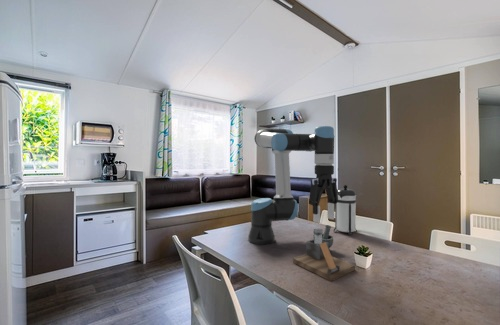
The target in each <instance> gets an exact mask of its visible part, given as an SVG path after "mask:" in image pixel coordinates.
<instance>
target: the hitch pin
mask: <svg viewBox="0 0 500 325" xmlns="http://www.w3.org/2000/svg"><path fill="white" fill-rule="evenodd" d="M313 234H314V238H313V240H314V244H317V245H319V244H321V243H322V234H324V230H323V229H322V228H313Z"/></svg>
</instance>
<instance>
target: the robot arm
mask: <svg viewBox="0 0 500 325" xmlns="http://www.w3.org/2000/svg"><path fill="white" fill-rule="evenodd" d="M254 143H255V144H256V146H258V147H260V148H263V149H271V153H272V154H274V168H275V170H274V172H275V173H274V175H275V177H274V178H275V195H274V196H273V200H272V198H270V197H262V198H257V199H254V200H253V201H252V202H251V206H250V210H251V211H250V212H251V216H250V218H251V220H250V221H251V226H250V229H249V234H248V236H247V241H248V242H249V241H250V243H252V244H255V245H269V244H273V243H275V241H276V240H275V239H276V238H275V236H276V235H275V232H274V230H273V227H272V224H273V222H281V221H286V222H287V221H291V220H294V219H295V218H296V217H297V216H298V212H299V205H298V201H297V200H296V199H294V196H293V195H292V191H291V189H292V188H291V170H290V168H291V167H290V153H291V152H292V151H293V152H295V151H296V152H314V161H313V162H314V164H315V165H314V175H316V177H315V178H313V179H310V190H309V191H310V192H309V197H308V204H309V205H310V206H312V214H313V215H312V216H313V219H312V220H313V222H314V223H316V224H317V223H318V224H321V206H320V201H321V199H322V195H323V191H324V190H325V193H326V197H327V199H328V202H327V219H329V220H334V221H335V204H337V201H338V194H337V190H338V186H337V185H338V184H337V181H338V178H337V177H333V176H332V175H334V174H335V166H334V164H335V157H334V156H335V155H334V154H335V130H334V127H333V126H329V125H325V126H322V125H321V126H316V127H315V129H314V132H313V133H294V132H293V131H292V130H290V129H289V128H288V129H287V128H286V129H285V128H262V129H260V130H258V131H257V132H256V133H255V135H254Z"/></svg>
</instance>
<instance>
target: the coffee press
mask: <svg viewBox="0 0 500 325" xmlns="http://www.w3.org/2000/svg"><path fill="white" fill-rule="evenodd" d="M337 194H338V201H337V204H335V210H334V226H335V227H334V228H333V232H334V233H337V232H343V233H348V234H347V235H348V236H353V232H355V233H357V232H358V231H357V228H356V227H357V226H356V225H357V224H356V214H357V213H356V212H357V211H356V209H357V208H356V207H357V206H356V205H357V198H356V197H357V193H356V191H355V190H354V189H351V188H348V185H347V184H343V188H337Z"/></svg>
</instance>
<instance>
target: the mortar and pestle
mask: <svg viewBox="0 0 500 325" xmlns="http://www.w3.org/2000/svg"><path fill="white" fill-rule="evenodd" d="M331 229H332V226H331V225H328V224H326V225H325V229H324V230H323V234H322V241H324V242H327V243H328V249H329V250H330V248H332V245H333V244H334V236H332V235H330V231H331ZM312 237H313V239H314V235H313V236H312Z"/></svg>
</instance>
